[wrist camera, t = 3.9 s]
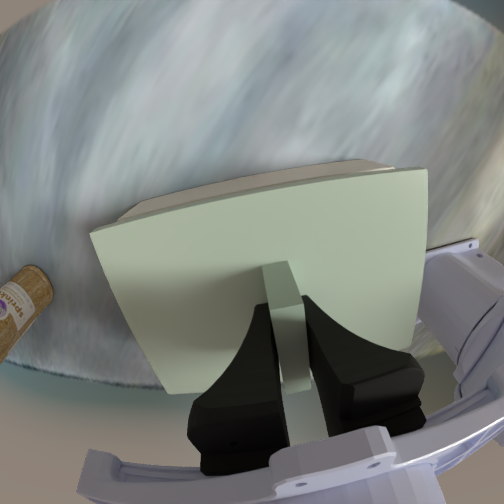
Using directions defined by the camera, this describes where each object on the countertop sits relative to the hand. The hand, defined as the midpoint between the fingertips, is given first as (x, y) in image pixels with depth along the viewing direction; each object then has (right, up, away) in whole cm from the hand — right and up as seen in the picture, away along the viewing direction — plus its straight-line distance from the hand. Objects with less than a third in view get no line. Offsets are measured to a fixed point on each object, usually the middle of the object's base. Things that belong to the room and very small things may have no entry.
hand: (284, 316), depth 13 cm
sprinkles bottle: (-22, 0, +8) cm, 24 cm away
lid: (0, +1, +2) cm, 2 cm away
